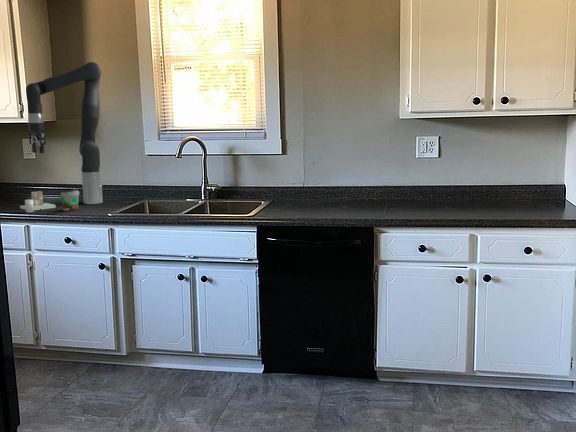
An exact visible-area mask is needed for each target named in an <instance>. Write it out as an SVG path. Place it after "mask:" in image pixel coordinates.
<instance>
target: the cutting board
mask: <svg viewBox="0 0 576 432" xmlns="http://www.w3.org/2000/svg"><path fill="white" fill-rule="evenodd" d="M19 208H20V210H24V211H26V210H25V204H24V205H19ZM56 208H57V207H56V204H54V203H53V204H52V203H48V202H43V205H41V206H34V211H38V210H39V211H40V209H41V210H47V209H48V210H49V209H56Z"/></svg>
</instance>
